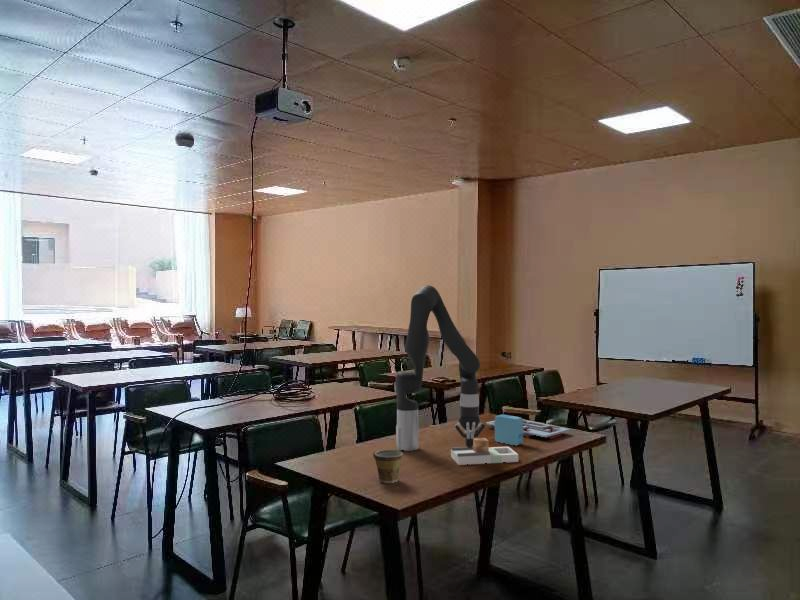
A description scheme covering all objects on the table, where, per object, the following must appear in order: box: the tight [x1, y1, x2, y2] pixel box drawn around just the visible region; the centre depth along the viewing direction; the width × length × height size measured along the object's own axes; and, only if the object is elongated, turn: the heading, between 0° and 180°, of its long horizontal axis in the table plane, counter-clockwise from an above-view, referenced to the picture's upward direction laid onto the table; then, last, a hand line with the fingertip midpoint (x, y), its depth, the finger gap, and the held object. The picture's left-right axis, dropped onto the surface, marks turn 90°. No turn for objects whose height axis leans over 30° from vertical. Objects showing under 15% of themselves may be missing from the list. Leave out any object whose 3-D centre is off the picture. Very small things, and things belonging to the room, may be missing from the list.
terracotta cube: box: [473, 437, 490, 453], centre depth 235 cm, size 5×5×5 cm
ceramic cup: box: [372, 449, 403, 484], centre depth 210 cm, size 13×10×10 cm
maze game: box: [485, 418, 571, 440], centre depth 282 cm, size 35×20×3 cm, turn 40°
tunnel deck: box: [450, 445, 519, 466], centre depth 236 cm, size 24×12×4 cm, turn 99°
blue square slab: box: [494, 414, 524, 447], centre depth 260 cm, size 12×4×12 cm, turn 48°
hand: (469, 447), depth 235 cm, fingers closed
